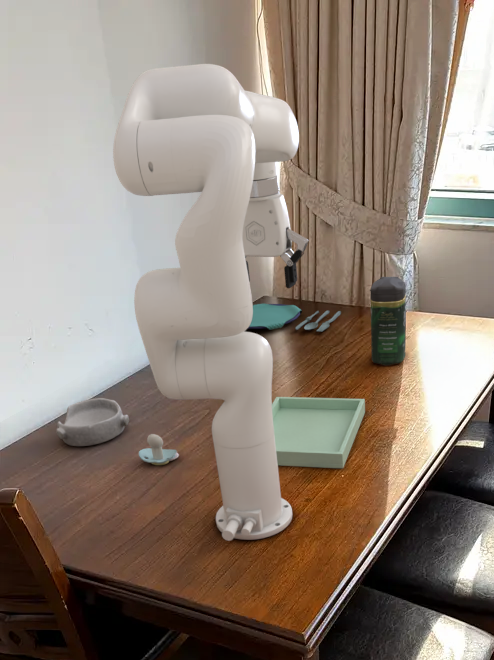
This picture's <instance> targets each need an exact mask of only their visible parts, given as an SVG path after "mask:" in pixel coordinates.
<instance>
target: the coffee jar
mask: <svg viewBox="0 0 494 660" xmlns="http://www.w3.org/2000/svg"><path fill="white" fill-rule="evenodd" d="M406 290H407V289H406V282H405V281H404V280H403V279H401V278H400V277H399V276H381V277H380V278H378V279H377V280H375V281H374V282H372V285H371V287H370V289H369V293H370V300H369V301H370V336H371V338H370V339H371V343H370V345H371V349H370V350H371V361H372V363H373V364H377V365H381V366H392V365H397V364H401V363H403V361H404V360H405V358H406V352H407V351H406V349H407V347H406V344H407V343H406V340H407V339H406V335H407V333H406V331H407V330H406V329H407V299H406V298H407V295H406V294H407V293H406Z"/></svg>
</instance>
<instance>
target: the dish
mask: <svg viewBox="0 0 494 660" xmlns="http://www.w3.org/2000/svg"><path fill="white" fill-rule="evenodd" d="M129 423H130V418H129V415H128V414H123V410H122V408H121V406H120V404H119V403H118V402H117V401H116V400H114V399H108V398H103V397H97V398H91V399H86V400H81V401H78V402H76V403H73V404H71V405H69V406H68V407H67V409H66V417H65V420H64V423H62V422H61V421H60V420H59V421H57V423H56V424H57V425H56V427H57V428H56V431H55V432H56V435H57V437H58V439H60V440H62V441H63V442H64V443H65V444H67V445H69V446H72V447H73V446H74V447H89V446H94V445H98V444H103V443H105V442H108V441H110V440H112V439H115V438H116V437H117V436H119V435H120V434H122V433H123V432H124V431H125V427H127V426H128V425H129Z"/></svg>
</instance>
